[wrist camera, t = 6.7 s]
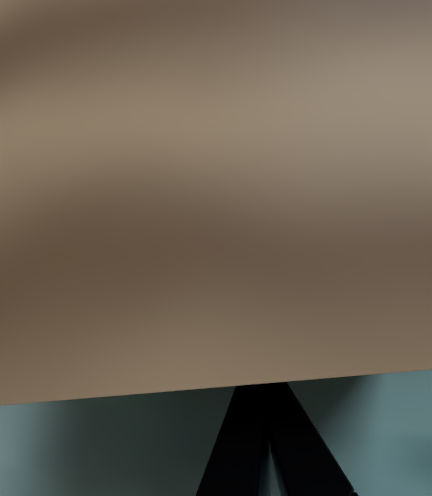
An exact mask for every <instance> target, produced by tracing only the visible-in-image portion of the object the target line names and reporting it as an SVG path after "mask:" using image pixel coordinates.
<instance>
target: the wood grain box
mask: <svg viewBox="0 0 432 496" xmlns="http://www.w3.org/2000/svg"><path fill="white" fill-rule="evenodd" d="M430 369H432V0H0V405H11V404H23V403H35V402H47V401H59V400H71V399H83V398H95V397H107V396H119V395H131V394H143V393H155V392H167V391H179V390H191V389H203V388H215V387H227V386H239V385H251V384H263V383H275V382H287V381H299V380H311V379H323V378H335V377H347V376H359V375H371V374H382V373H394V372H406V371H418V370H430Z"/></svg>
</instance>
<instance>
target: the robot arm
mask: <svg viewBox="0 0 432 496" xmlns="http://www.w3.org/2000/svg"><path fill="white" fill-rule="evenodd" d="M269 443H270V447H269ZM270 450H271V455H272V459H273V464H274V468H275V472H276V477H277V481H278V485H279V490H280V494H281V496H358V494H357V493H356V492H354V488H353V486H352V485H351V483H350V482H349V480H348V479H347V477H346V475H345V474H344V472H343V471H342V469H341V467H340V466H339V464H338V463H337V461H336V460H335V458H334V456H333V455H332V453H331V452H330V450H329V448H328V447H327V445H326V444H325V442H324V440H323V439H322V437H321V436H320V434H319V433H318V431H317V429H316V428H315V426H314V425H313V423H312V421H311V420H310V418H309V417H308V415H307V414H306V412H305V410H304V409H303V407H302V406H301V404H300V402H299V401H298V399H297V398H296V396H295V394H294V393H293V391H292V390H291V388H290V387H289V385H288V383H287V382H275V383H263V384H251V385H239V386H236V388H235V390H234V393H233V396H232V398H231V401H230V404H229V406H228V409H227V412H226V415H225V417H224V420H223V423H222V425H221V428H220V431H219V433H218V436H217V439H216V442H215V444H214V447H213V450H212V452H211V455H210V458H209V460H208V463H207V466H206V468H205V471H204V474H203V477H202V479H201V482H200V485H199V487H198V490H197V493H196V496H271V487H270Z"/></svg>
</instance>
